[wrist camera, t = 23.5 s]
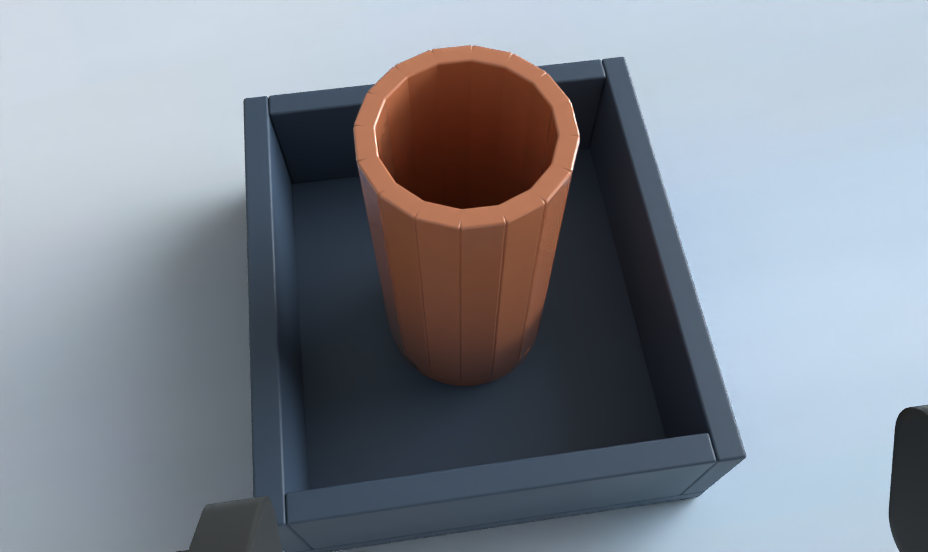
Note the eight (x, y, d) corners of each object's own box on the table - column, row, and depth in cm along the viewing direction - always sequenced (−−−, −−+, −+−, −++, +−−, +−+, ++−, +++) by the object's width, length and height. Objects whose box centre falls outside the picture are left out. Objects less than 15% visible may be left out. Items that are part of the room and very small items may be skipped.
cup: (525, 241, 28) (555, 34, 19) (552, 375, 26) (599, 212, 17) (382, 258, 28) (345, 57, 19) (398, 396, 26) (364, 240, 17)
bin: (602, 142, 31) (624, 55, 27) (699, 496, 25) (748, 457, 21) (273, 181, 30) (242, 97, 26) (290, 557, 24) (253, 529, 20)
